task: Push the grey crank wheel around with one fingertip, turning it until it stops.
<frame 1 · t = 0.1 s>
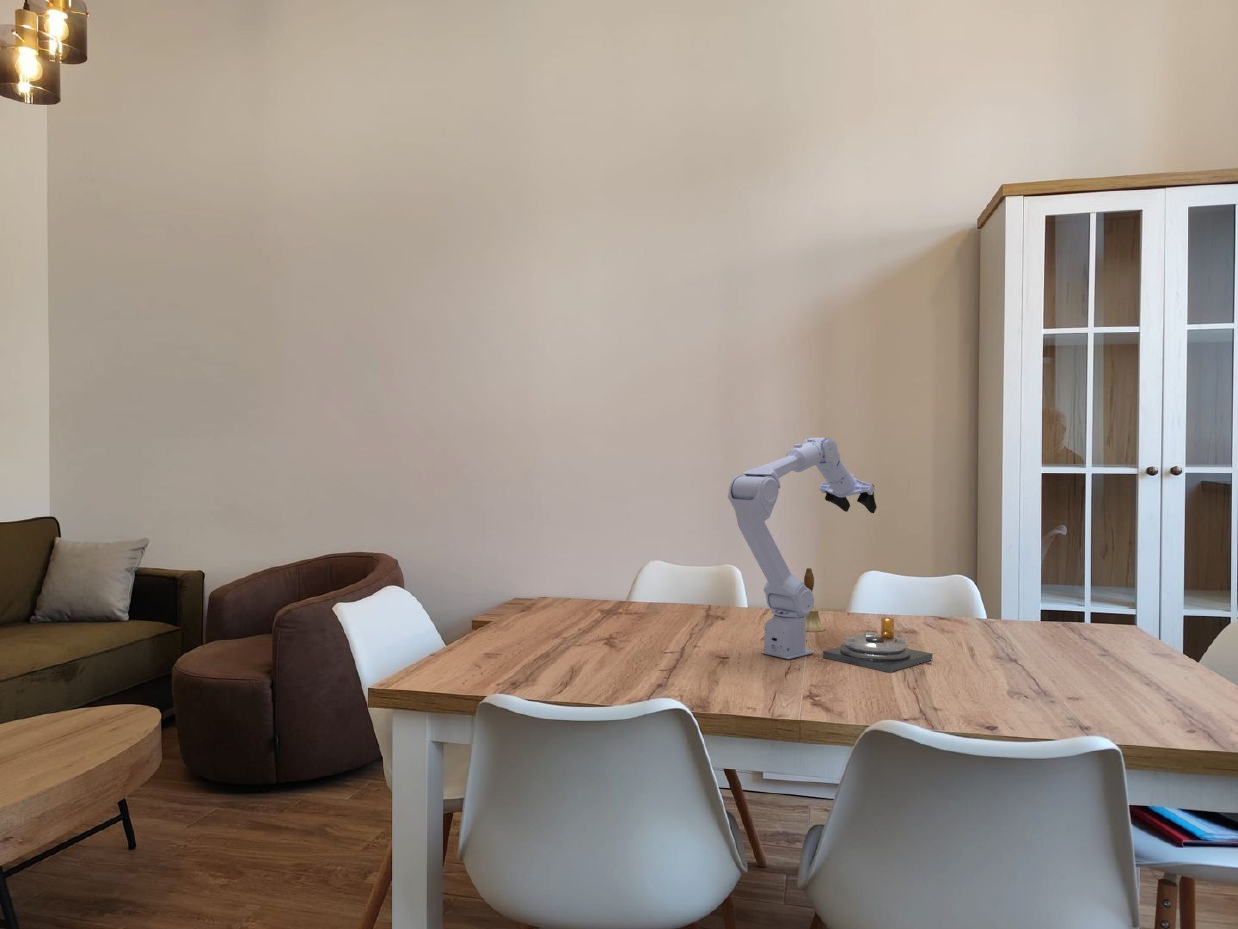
hand: (860, 509, 213), 32 cm above the table, tool tilted 50°, fingers open, 7 cm apart
hand bell: (809, 629, 223), on the table
grey crank wheel: (875, 634, 189), point 6 cm above the table, hinge at 0.0°
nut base: (874, 659, 189), on the table
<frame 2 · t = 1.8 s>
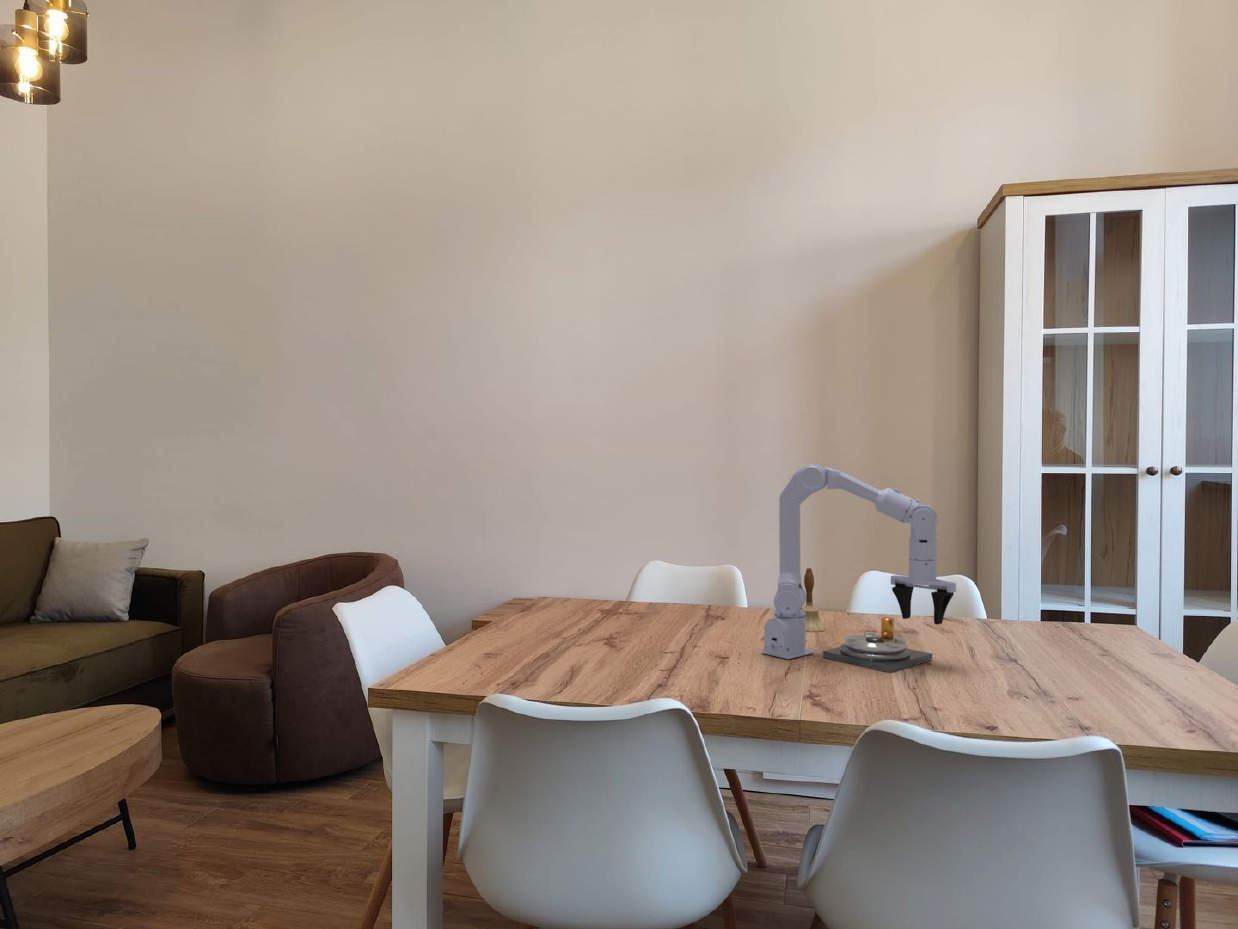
hand: (922, 621, 186), 9 cm above the table, tool pointing down, fingers open, 7 cm apart
nothing on the table moved.
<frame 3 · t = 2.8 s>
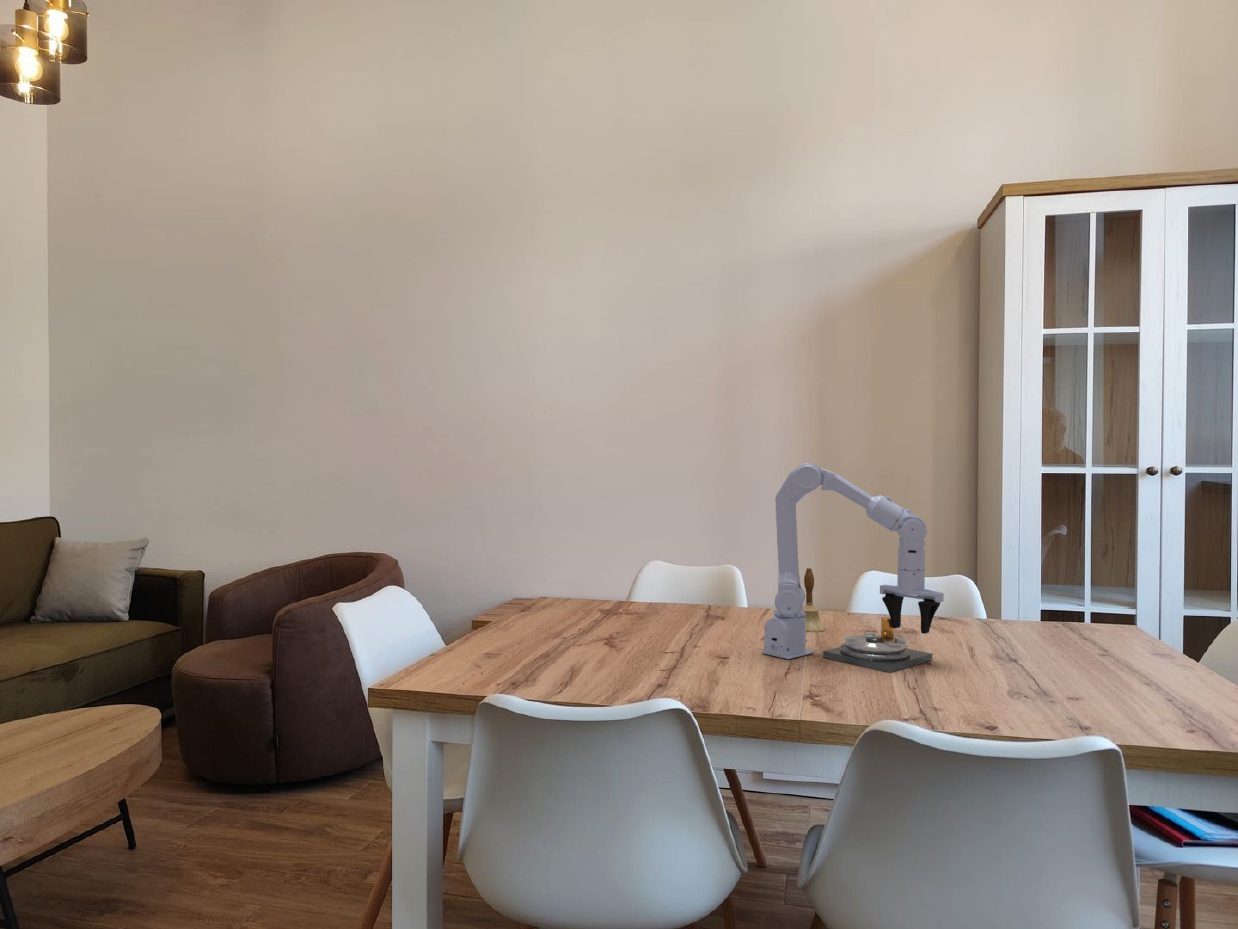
hand: (910, 630, 188), 7 cm above the table, tool pointing down, fingers open, 6 cm apart
grey crank wheel: (875, 634, 189), point 6 cm above the table, hinge at 0.0°, touching gripper
everything else where it was.
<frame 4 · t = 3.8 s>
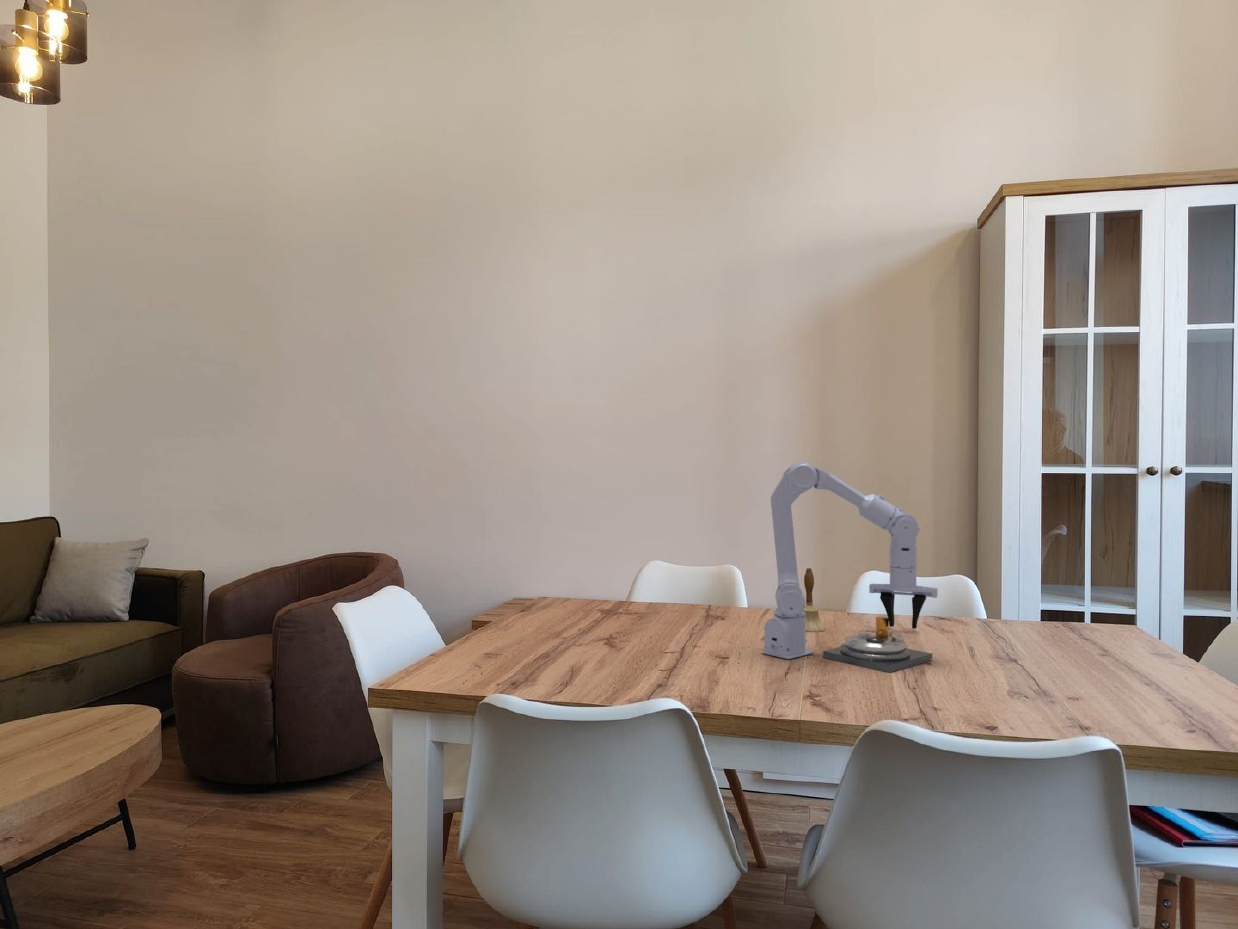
hand: (902, 626, 191), 7 cm above the table, tool pointing down, fingers open, 4 cm apart
grey crank wheel: (875, 634, 189), point 6 cm above the table, hinge at 14.9°, touching gripper
everything else where it was.
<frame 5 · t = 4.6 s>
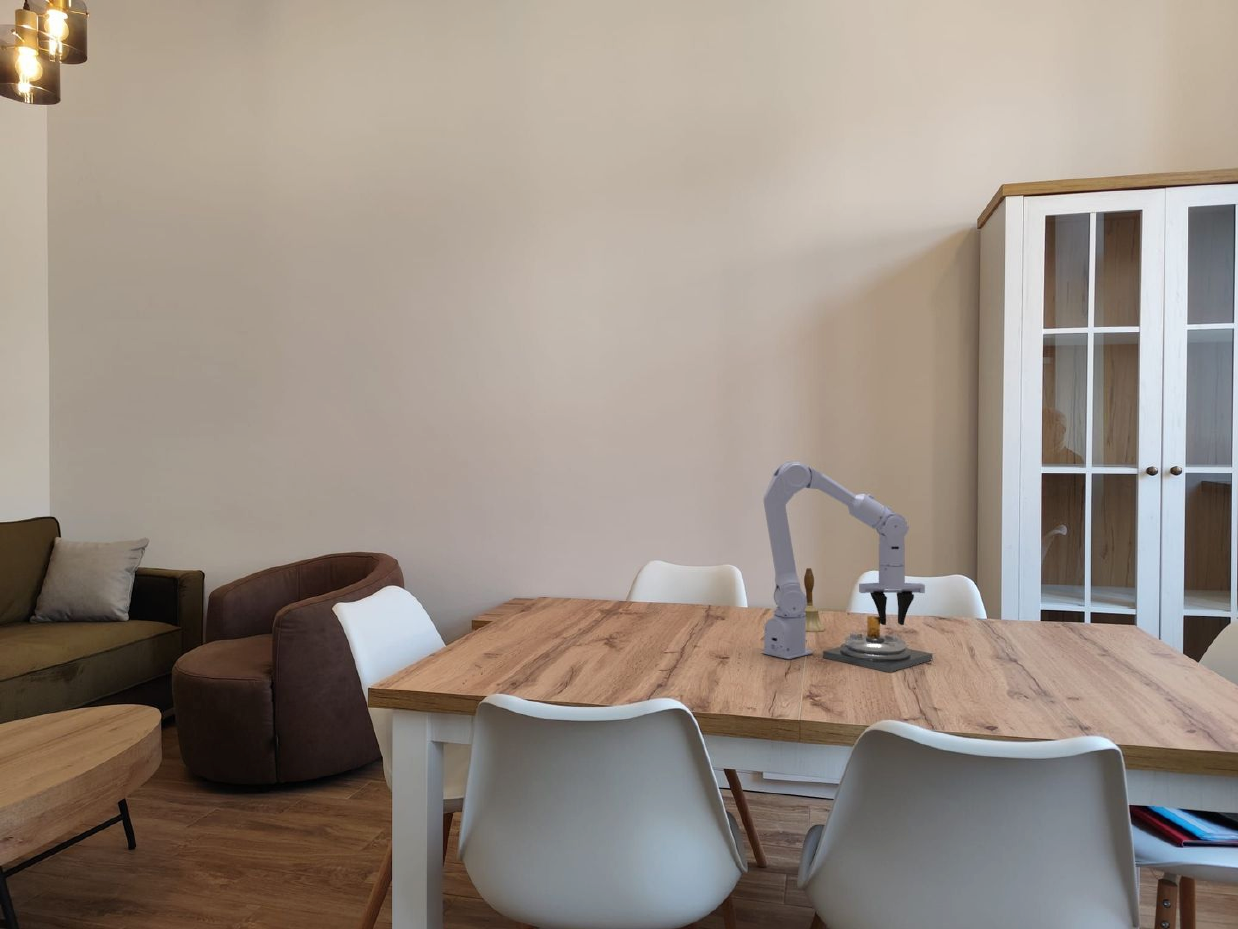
hand: (891, 624, 194), 7 cm above the table, tool pointing down, fingers open, 4 cm apart
grey crank wheel: (875, 634, 189), point 6 cm above the table, hinge at 36.8°, touching gripper
everything else where it was.
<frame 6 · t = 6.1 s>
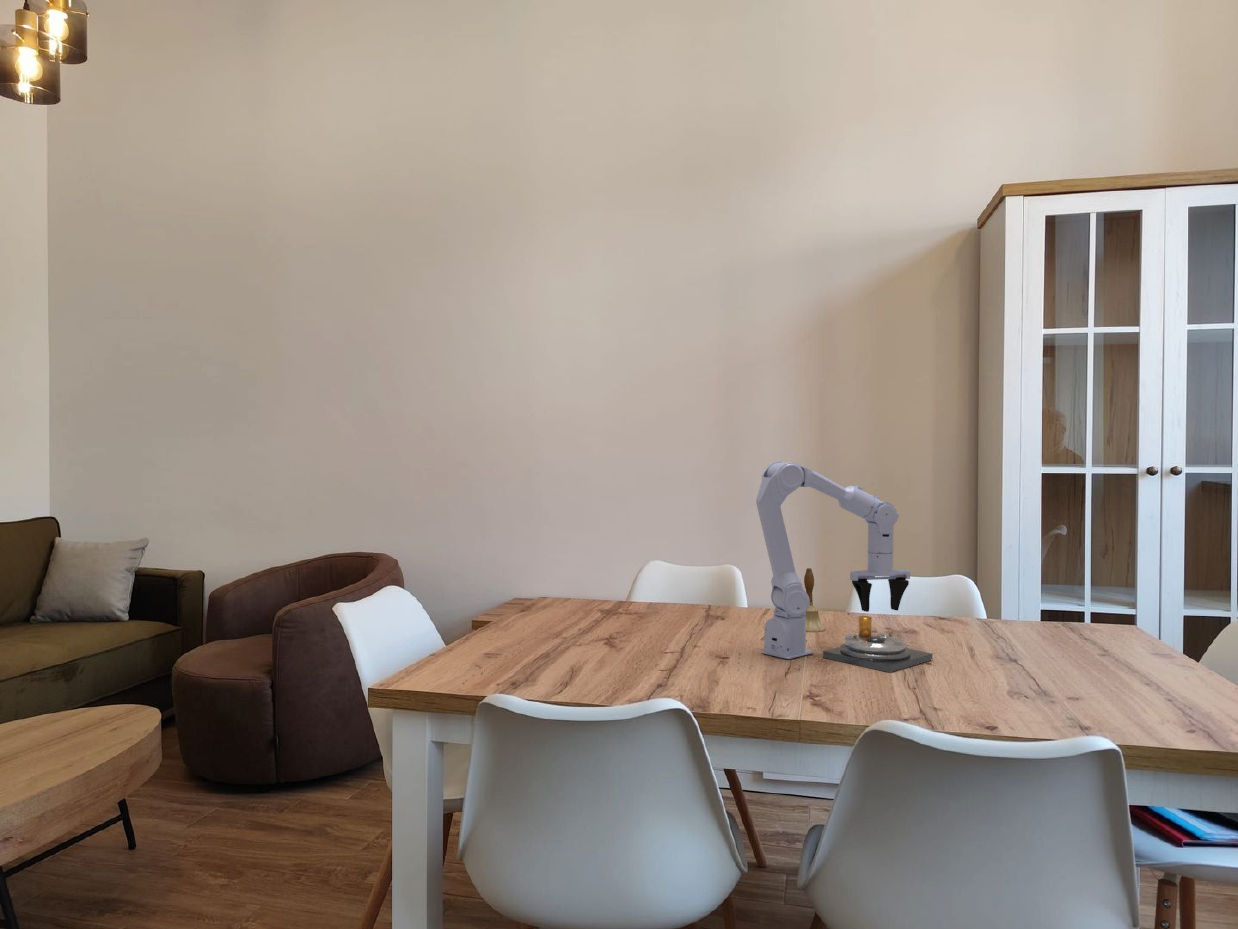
hand: (880, 610, 198), 9 cm above the table, tool pointing down, fingers open, 7 cm apart
grey crank wheel: (875, 634, 189), point 6 cm above the table, hinge at 59.2°
everything else where it was.
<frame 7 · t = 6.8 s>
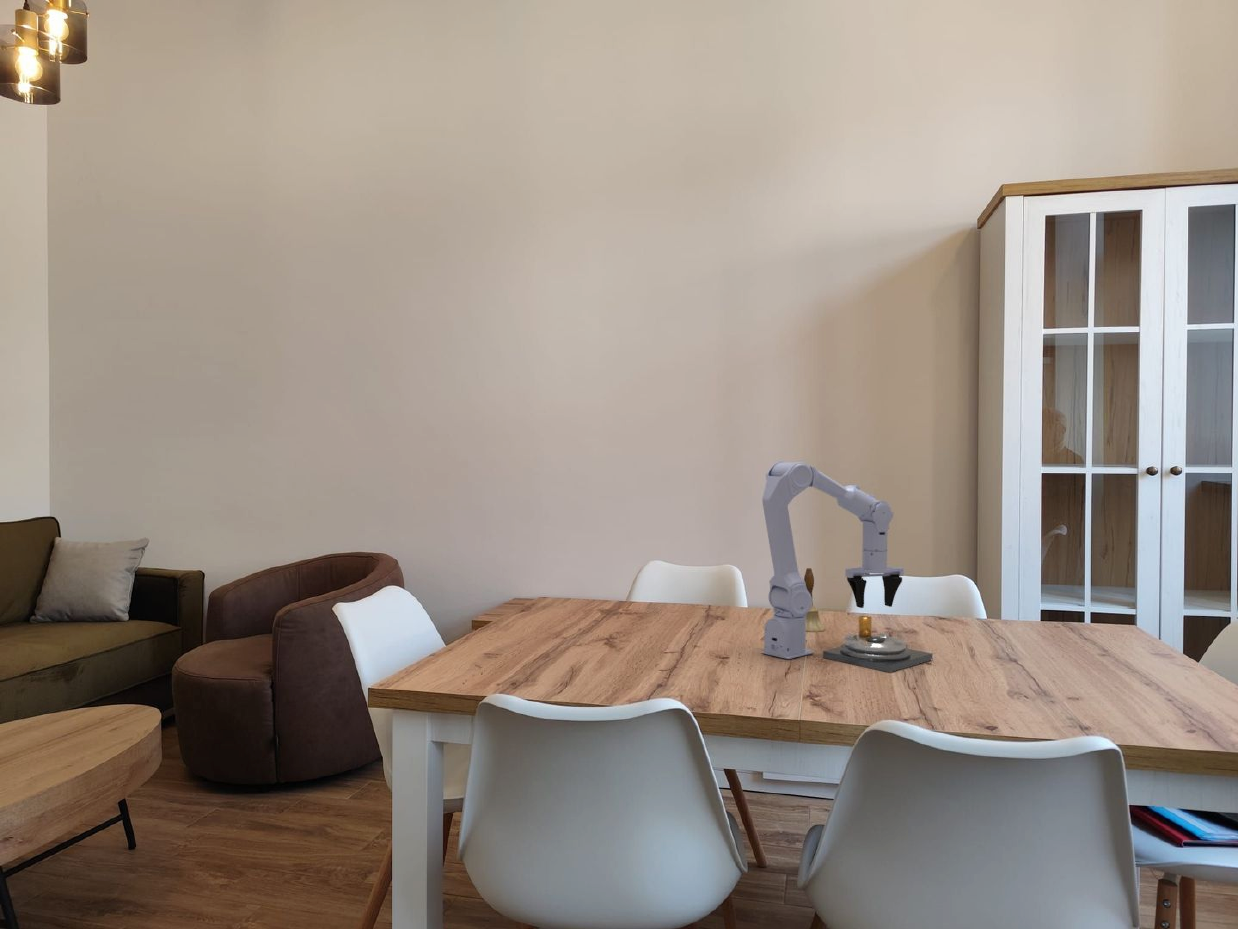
hand: (874, 606, 203), 9 cm above the table, tool pointing down, fingers open, 7 cm apart
nothing on the table moved.
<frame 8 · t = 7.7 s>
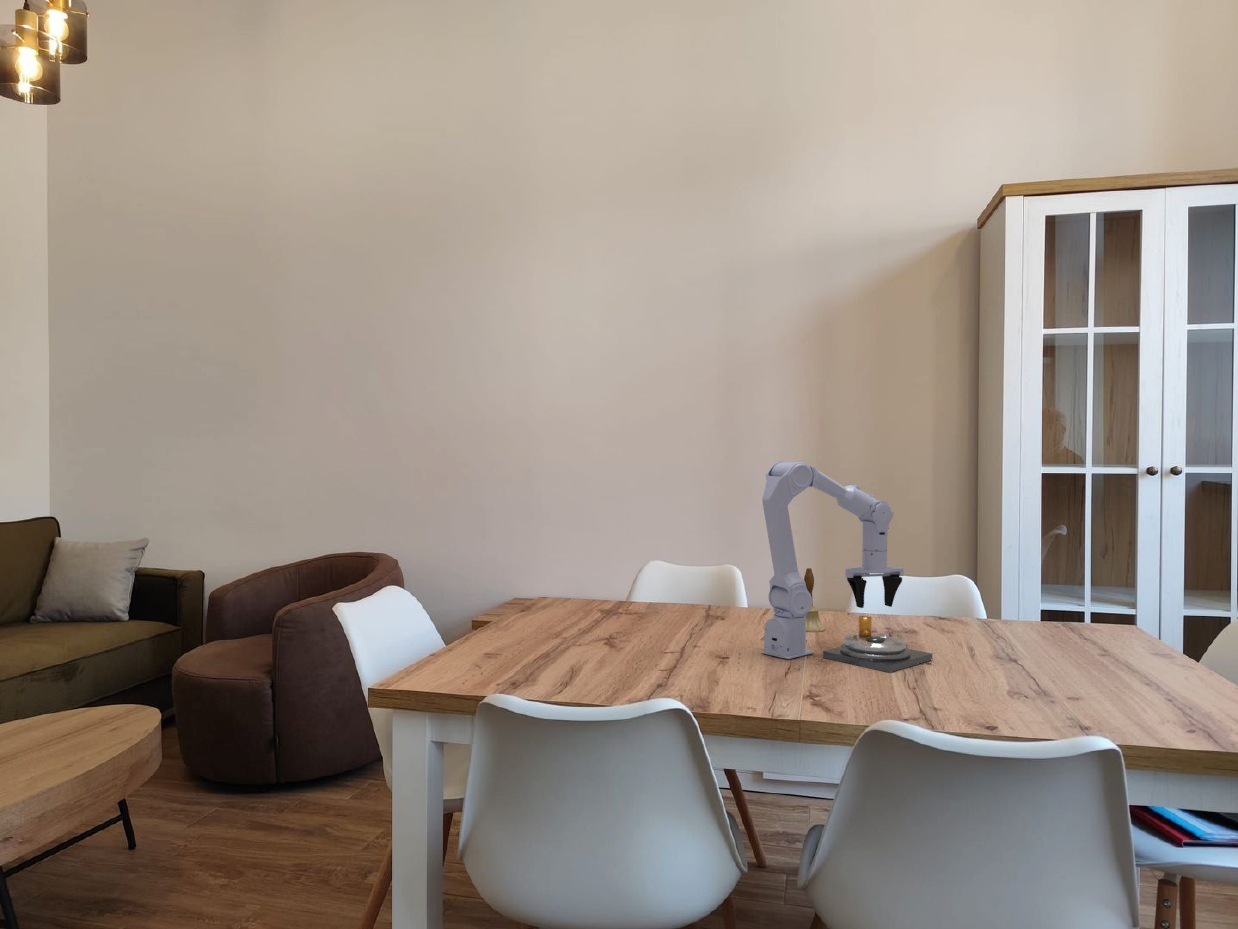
hand: (874, 606, 203), 9 cm above the table, tool pointing down, fingers open, 7 cm apart
nothing on the table moved.
at the end: grey crank wheel at +59° (first picture: +0°); hand bell moved 0.3 cm from its start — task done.
